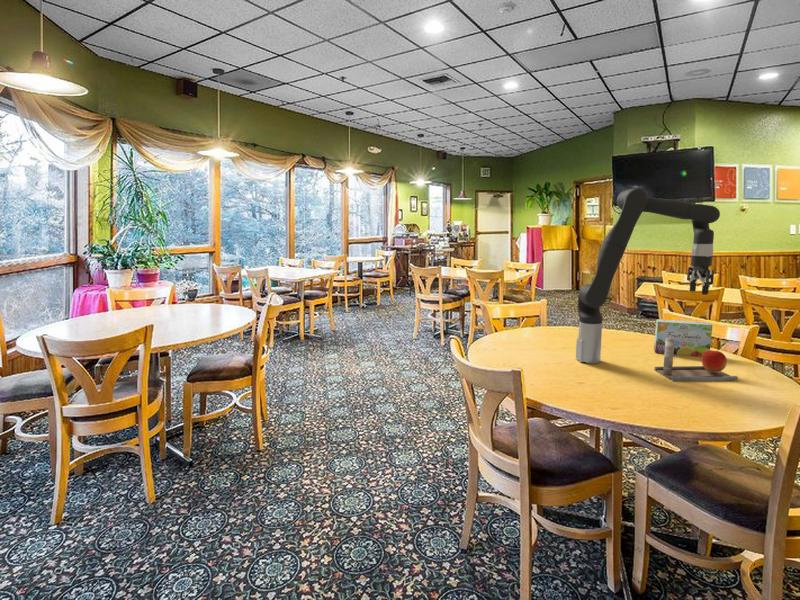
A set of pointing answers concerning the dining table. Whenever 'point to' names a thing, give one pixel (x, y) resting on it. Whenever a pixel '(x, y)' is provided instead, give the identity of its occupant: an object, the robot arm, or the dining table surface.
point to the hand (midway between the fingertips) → (698, 292)
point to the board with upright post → (671, 373)
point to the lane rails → (698, 378)
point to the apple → (714, 360)
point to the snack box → (683, 336)
